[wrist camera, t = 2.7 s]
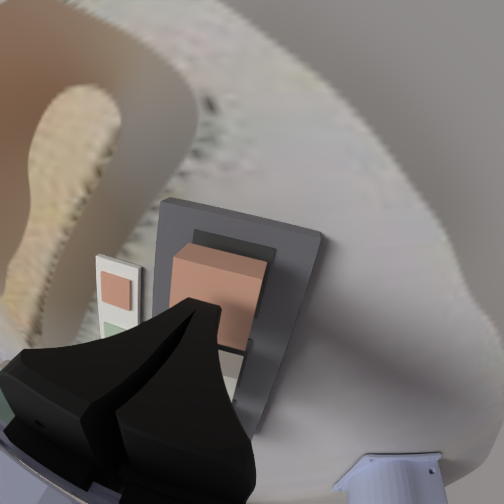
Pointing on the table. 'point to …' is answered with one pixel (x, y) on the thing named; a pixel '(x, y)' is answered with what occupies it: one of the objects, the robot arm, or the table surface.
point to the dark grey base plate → (271, 293)
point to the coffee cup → (5, 403)
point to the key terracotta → (220, 287)
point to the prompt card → (117, 295)
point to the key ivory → (230, 370)
